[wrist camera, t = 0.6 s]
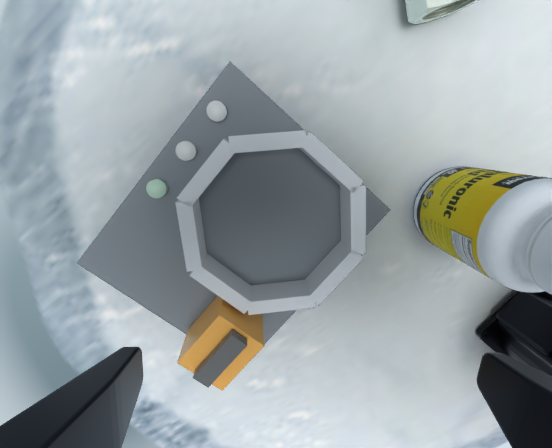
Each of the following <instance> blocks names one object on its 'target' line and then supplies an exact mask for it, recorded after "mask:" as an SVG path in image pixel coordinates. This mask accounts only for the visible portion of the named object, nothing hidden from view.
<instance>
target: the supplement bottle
mask: <svg viewBox="0 0 552 448" xmlns="http://www.w3.org/2000/svg"><path fill="white" fill-rule="evenodd" d="M414 219H415V223H416V226H417V228H418V230H419V232H420V233H421V234H422V236H423V237H424V238H425V239H427V240H428V241H429V242H430V243H432V244H433V245H435V246H437V247H439V248H440V249H442V250H444V251H445V252H447V253H448V254H450V255H452V256H453V257H455V258H457V259H459V260H460V261H462V262H464V263H465V264H467V265H469V266H470V267H472V268H474V269H476V270H477V271H479V272H481V273H482V274H484V275H486V276H487V277H489V278H491V279H492V280H494V281H496V282H497V283H499V284H501V285H503V286H505V287H507V288H510V289H513V290H516V291H520V292H529V293H534V292H544V291H546V292H548V293H549V294H551V295H552V178H546V177H537V176H531V175H523V174H515V173H508V172H501V171H494V170H486V169H479V168H471V167H454V168H449V169H446V170H443V171H441V172H439V173H437V174H436V175H434V176H433V177H432V178H430V179H429V180H428V181H427V182H426V183H425V185H424V186H423V187H422V189H421V190H420V192H419V194H418V196H417V198H416V201H415V205H414Z"/></svg>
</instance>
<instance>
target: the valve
mask: <svg viewBox="0 0 552 448" xmlns="http://www.w3.org/2000/svg"><path fill="white" fill-rule="evenodd" d="M477 1H479V0H405V3H406V10H407V17H408V22H410V23H414V24H420V23H425V22H428V21H432V20H435V19H438V18H441V17H443V16H446V15H449V14H451V13H454V12H456V11H458V10H461V9H463V8H465V7H467V6H469V5H471V4H473V3H475V2H477Z"/></svg>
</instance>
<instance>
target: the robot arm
mask: <svg viewBox="0 0 552 448" xmlns="http://www.w3.org/2000/svg"><path fill="white" fill-rule="evenodd" d="M477 336H478V337H479V338H480V339H481V340H483V341H484V342H485V343H486V344H487V345H488V346H489V347H491V348H492V349H493V350H494V351H495V352H496V353H485V354H484V355H483V357H482V360H481V364H480V368H479V371H478V375H477V385H478V388H479V390H480V391H481V393H482V395H483V397H484V399H485V400H486V402H487V404H488V406H489V407H490V409H491V411H492V413H493V415H494V416H495V418H496V420H497V422H498V424H499V425H500V427H501V429H502V431H503V433H504V434H505V436H506V438H507V440H508V441H509V443H510V445H511V446H512V448H552V295H551V294H549V293H548V292H546V291H544V292H534V293H529V292H520V291H519V292H518V293H517V294H516V295H515V296H513V297H512V298H511V299H510V300H509V301H508V302H507V303H506V304H505V305H504V306H503V307H502V308H500V309H499V310H498V311H497V312H496V313H495V314H494V315H493V316H492V317H491V318H490V319H489V320H488V321H486V322H485V323H484V324H483V325H482V326H481V327H480V328H479V329H478V330H477ZM142 381H143V364H142V351H141V349H140V348H139V347H123V348H121V349H119V350H118V351H116V352H115V353H113V354H112V355H110V356H108V357H107V358H105V359H104V360H102V361H101V362H99V363H98V364H96V365H94V366H93V367H91V368H90V369H88V370H87V371H85V372H83V373H82V374H80V375H79V376H77V377H76V378H74V379H73V380H71V381H70V382H68V383H66V384H65V385H63V386H62V387H60V388H59V389H57V390H56V391H54V392H53V393H51V394H49V395H48V396H47V397H45V398H43V399H41V400H40V401H38V402H37V403H35V404H34V405H32V406H31V407H29V408H28V409H26V410H24V411H23V412H21V413H20V414H18V415H16V416H15V417H13V418H12V419H10V420H9V421H7V422H6V423H4V424H3V425H1V426H0V448H121V447H122V444H123V441H124V438H125V435H126V432H127V429H128V426H129V423H130V420H131V417H132V414H133V410H134V407H135V404H136V401H137V398H138V395H139V392H140V389H141V386H142Z"/></svg>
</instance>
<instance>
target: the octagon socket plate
mask: <svg viewBox="0 0 552 448" xmlns="http://www.w3.org/2000/svg"><path fill="white" fill-rule="evenodd" d="M363 182H364V181H363V180H362V179H361V178H360V177H359V176H358V175H357V174H355V173H354V172H353V171H352V170H351V169H350V168H349V167H348V166H347V165H346V164H345V163H344V162H343V161H341V160H340V159H339V158H338V157H337V156H336V155H335V154H334V153H333V152H332V151H331V150H330V149H329V148H327V147H326V146H325V145H324V144H323V143H322V142H321V141H320V140H319V139H318V138H317V137H316V136H314V135H313V134H312V133H311V132H306V130H304V129H302V128H301V127H300V126H299V125H298V124H297V123H296V122H295V121H294V120H293V119H292V118H291V117H289V116H288V115H287V114H286V113H285V112H284V111H283V110H282V109H281V108H280V107H279V106H278V105H276V104H275V103H274V102H273V101H272V100H271V99H270V98H269V97H268V96H267V95H266V94H265V93H263V92H262V91H261V90H260V89H259V88H258V87H257V86H256V85H255V84H254V83H253V82H252V81H250V80H249V79H248V78H247V77H246V76H245V75H244V74H243V73H242V72H241V71H240V70H239V69H237V68H236V67H235V66H234V65H233V64H232V63H231V62H229V63H228V65H227V66H226V67H225V69H224V70H223V71H222V72H221V74H220V75H219V76H218V78H217V79H216V80H215V82H214V83H213V84H212V86H211V87H210V88H209V90H208V91H207V92H206V94H205V95H204V96H203V98H202V99H201V100H200V101H199V103H198V104H197V105H196V107H195V108H194V109H193V111H192V112H191V113H190V115H189V116H188V117H187V119H186V120H185V121H184V123H183V124H182V125H181V126H180V128H179V129H178V130H177V132H176V133H175V134H174V136H173V137H172V138H171V140H170V141H169V142H168V144H167V145H166V146H165V148H164V149H163V150H162V151H161V153H160V154H159V155H158V157H157V158H156V159H155V161H154V162H153V163H152V165H151V166H150V167H149V169H148V170H147V171H146V173H145V174H144V175H143V177H142V178H141V179H140V180H139V182H138V183H137V184H136V186H135V187H134V188H133V190H132V191H131V192H130V194H129V195H128V196H127V198H126V199H125V200H124V202H123V203H122V204H121V205H120V207H119V208H118V209H117V211H116V212H115V213H114V215H113V216H112V217H111V219H110V220H109V221H108V223H107V224H106V225H105V227H104V228H103V229H102V230H101V232H100V233H99V234H98V236H97V237H96V238H95V240H94V241H93V242H92V244H91V245H90V246H89V248H88V249H87V250H86V252H85V253H84V254H83V256H82V257H81V258H80V259H79V261H78V262H77V264H79V265H80V266H82V267H83V268H85V269H86V270H88V271H89V272H91V273H93V274H94V275H96V276H97V277H99V278H100V279H102V280H103V281H105V282H106V283H108V284H110V285H111V286H113V287H114V288H116V289H117V290H119V291H120V292H122V293H123V294H125V295H126V296H128V297H130V298H131V299H133V300H134V301H136V302H137V303H139V304H140V305H142V306H143V307H145V308H147V309H148V310H150V311H151V312H153V313H154V314H156V315H157V316H159V317H160V318H162V319H164V320H165V321H167V322H168V323H170V324H171V325H173V326H174V327H176V328H177V329H179V330H181V331H182V332H184V333H185V334H187V331H188V329H189V328H190V327H191V326H192V325H193V323H194V322H195V321H196V320H197V319H198V318H199V317H200V315H201V314H202V313H203V312H204V311H205V310H206V309H207V307H208V306H209V305H210V304H211V303H212V302H213V301H214V299H215V298H216V297H217V296H219V297H221V298H222V299H223V300H225V301H226V302H228V303H229V304H231V305H232V306H233V307H235V308H236V309H238V310H239V311H241V312H242V313H243V314H245V312H246V311H247V310H248V315H254V314H261V315H262V318H263V334H264V344H265V343H266V342H267V341H268V340H269V339H270V338H271V337H272V336H273V335H274V334H275V332H276V331H277V330H278V329H279V328H280V327H281V326H282V325H283V324H284V323H285V322H286V321H287V320H288V319H289V318H290V316H291V315H292V314H293V313H294V312H295V311H296V310H300V309H309V308H314V303H315V304H317V305H318V306H319V305H320V304H321V303H322V302H323V301H324V299H325V298H326V297H327V296H328V295H329V294H330V293H331V292H332V291H333V290H334V289H335V288H336V287H337V286H338V285H339V284H340V283H341V282H342V281H343V279H344V278H345V277H346V276H347V275H348V274H349V273H350V272H351V271H352V270H353V269H354V268H355V267H356V266H357V265H358V264H359V263H360V262H361V261H362V260H363V258H364V257H363V256H362V255H361V254H366V235H367V234H368V233H369V232H370V231H371V230H372V229H373V228H374V227H375V226H376V225H377V224H378V223H379V222H380V220H381V219H382V218H383V217H384V216H385V215H386V214H387V213H388V212H389V211H390V209H389V208H388V207H387V206H386V205H385V204H384V203H383V202H382V201H380V200H379V199H378V198H377V197H376V196H375V195H374V194H373V193H372V192H371V191H370V190H369V189H367V188H366V186H365V185H363V184H362V183H363Z"/></svg>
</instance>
